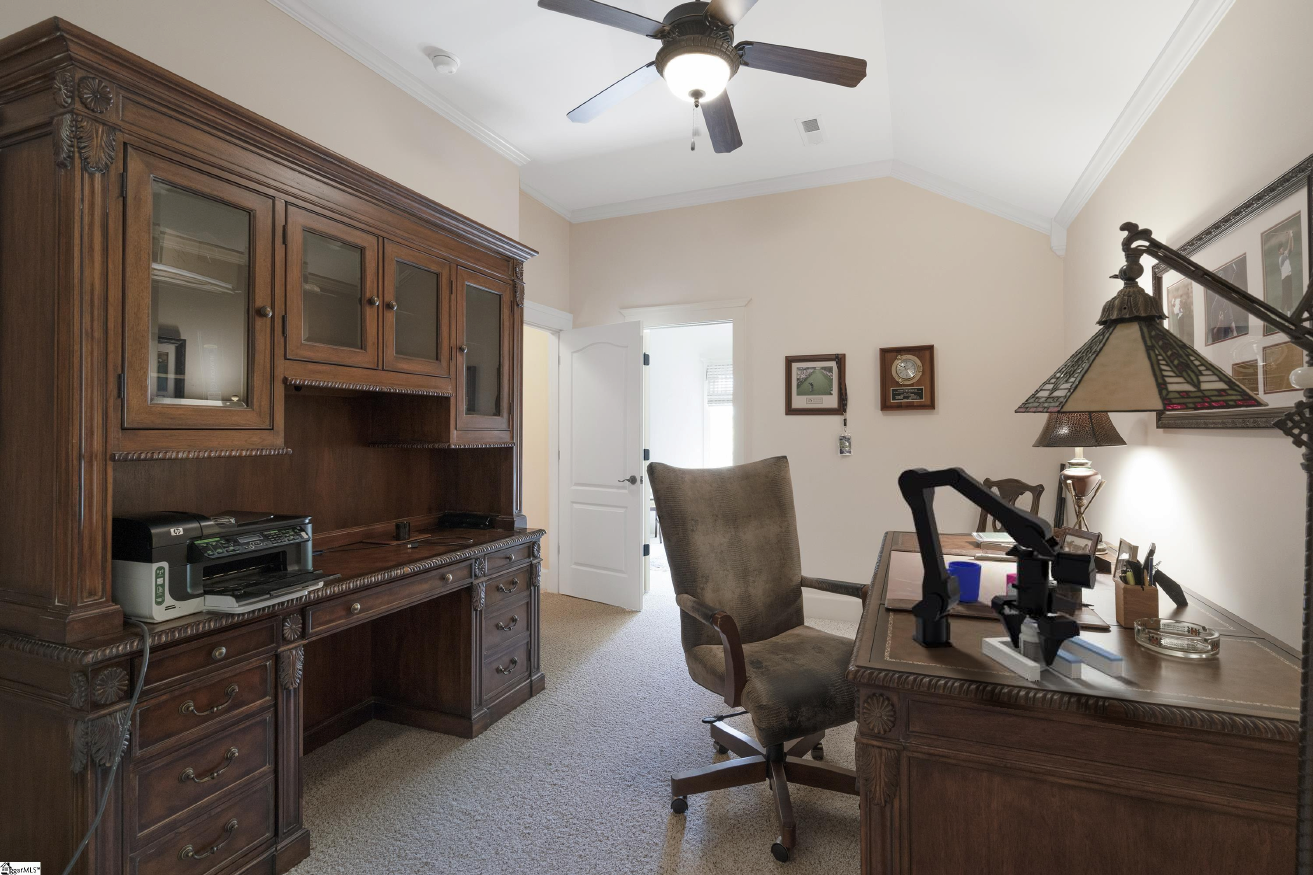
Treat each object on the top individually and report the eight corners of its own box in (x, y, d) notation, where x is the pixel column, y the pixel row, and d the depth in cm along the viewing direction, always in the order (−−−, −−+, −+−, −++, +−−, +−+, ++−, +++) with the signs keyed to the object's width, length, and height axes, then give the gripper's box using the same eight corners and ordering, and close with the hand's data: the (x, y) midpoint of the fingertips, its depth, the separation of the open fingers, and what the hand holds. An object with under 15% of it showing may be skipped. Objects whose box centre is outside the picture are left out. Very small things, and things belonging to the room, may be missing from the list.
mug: (930, 598, 173) (930, 563, 173) (965, 594, 177) (965, 559, 176) (952, 607, 165) (952, 570, 165) (988, 602, 169) (988, 566, 169)
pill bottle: (1052, 670, 124) (1052, 628, 124) (1031, 672, 123) (1032, 630, 123) (1033, 661, 128) (1033, 621, 128) (1013, 663, 128) (1013, 622, 127)
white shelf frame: (1030, 681, 119) (1030, 662, 119) (982, 652, 134) (982, 635, 134) (1123, 676, 120) (1123, 657, 120) (1065, 647, 135) (1065, 631, 135)
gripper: (1107, 591, 117) (1106, 673, 117) (1037, 567, 135) (1037, 638, 136) (1051, 593, 116) (1051, 676, 116) (989, 569, 134) (989, 640, 135)
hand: (1032, 656), depth 126 cm, fingers open, 9 cm apart
